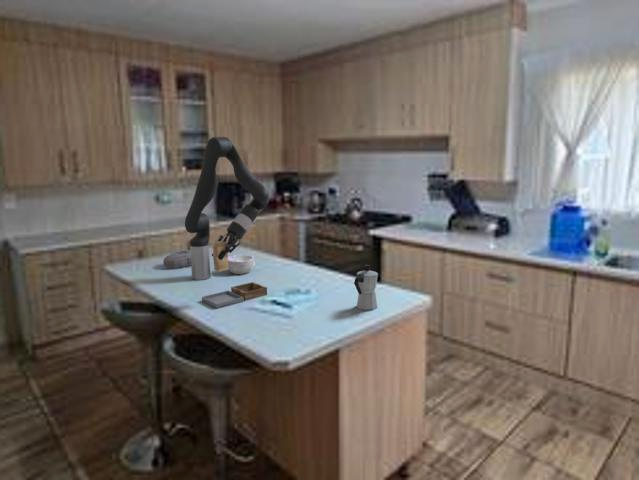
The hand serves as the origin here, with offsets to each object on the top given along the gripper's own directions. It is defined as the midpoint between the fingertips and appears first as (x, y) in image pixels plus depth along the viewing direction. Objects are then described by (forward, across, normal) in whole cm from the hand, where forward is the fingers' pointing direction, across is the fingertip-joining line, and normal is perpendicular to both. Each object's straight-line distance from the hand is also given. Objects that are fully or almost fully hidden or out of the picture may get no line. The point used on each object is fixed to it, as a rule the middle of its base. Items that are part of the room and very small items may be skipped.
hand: (216, 257), depth 191 cm
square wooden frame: (+3, 0, +25) cm, 25 cm away
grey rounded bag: (+3, -72, +26) cm, 76 cm away
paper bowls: (-9, -36, +38) cm, 53 cm away
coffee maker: (-15, +48, +43) cm, 66 cm away
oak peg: (+3, 0, +5) cm, 6 cm away
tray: (+13, 0, +15) cm, 20 cm away
